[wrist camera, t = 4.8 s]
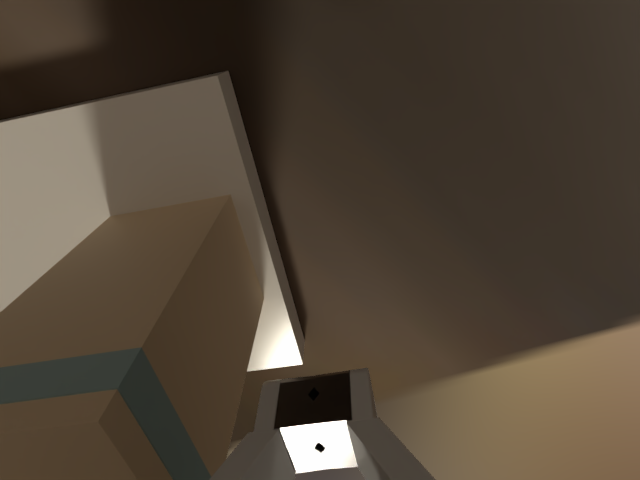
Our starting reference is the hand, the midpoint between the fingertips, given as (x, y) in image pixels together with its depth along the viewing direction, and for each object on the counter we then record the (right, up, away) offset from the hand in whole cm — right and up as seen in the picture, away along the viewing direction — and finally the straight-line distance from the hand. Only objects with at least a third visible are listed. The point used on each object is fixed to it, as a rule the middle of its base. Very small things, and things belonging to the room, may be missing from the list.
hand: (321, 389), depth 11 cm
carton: (-7, +3, +9) cm, 11 cm away
